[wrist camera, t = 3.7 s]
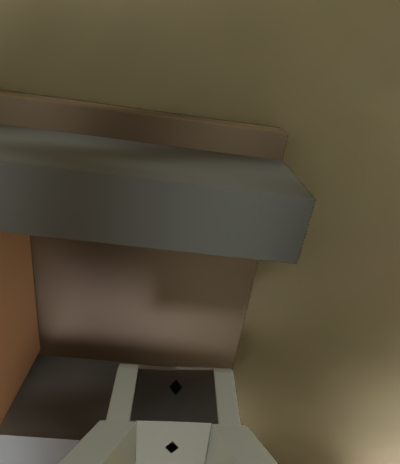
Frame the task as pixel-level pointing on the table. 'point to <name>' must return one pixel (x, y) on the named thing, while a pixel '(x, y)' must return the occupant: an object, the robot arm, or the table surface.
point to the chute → (134, 248)
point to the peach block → (16, 316)
